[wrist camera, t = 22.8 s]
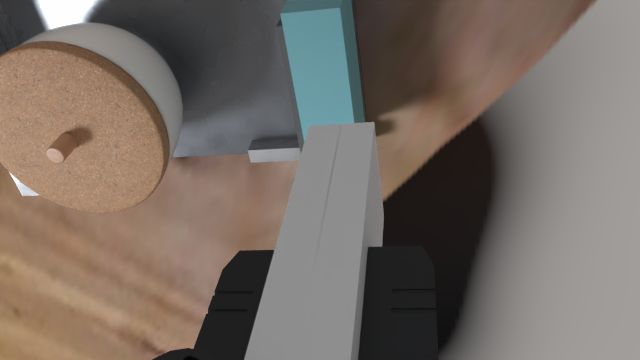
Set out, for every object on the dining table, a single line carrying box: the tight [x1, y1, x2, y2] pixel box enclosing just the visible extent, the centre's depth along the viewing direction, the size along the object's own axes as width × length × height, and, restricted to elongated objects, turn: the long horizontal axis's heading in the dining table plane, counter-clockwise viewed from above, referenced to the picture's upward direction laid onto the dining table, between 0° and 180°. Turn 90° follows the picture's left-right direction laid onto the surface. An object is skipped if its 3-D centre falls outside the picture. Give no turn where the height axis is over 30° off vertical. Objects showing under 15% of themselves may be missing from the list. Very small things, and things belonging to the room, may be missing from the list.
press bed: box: [0, 0, 367, 196], centre depth 36 cm, size 24×13×5 cm, turn 98°
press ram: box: [276, 0, 365, 153], centre depth 33 cm, size 4×10×5 cm, turn 8°
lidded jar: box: [0, 22, 183, 213], centre depth 34 cm, size 11×11×9 cm
